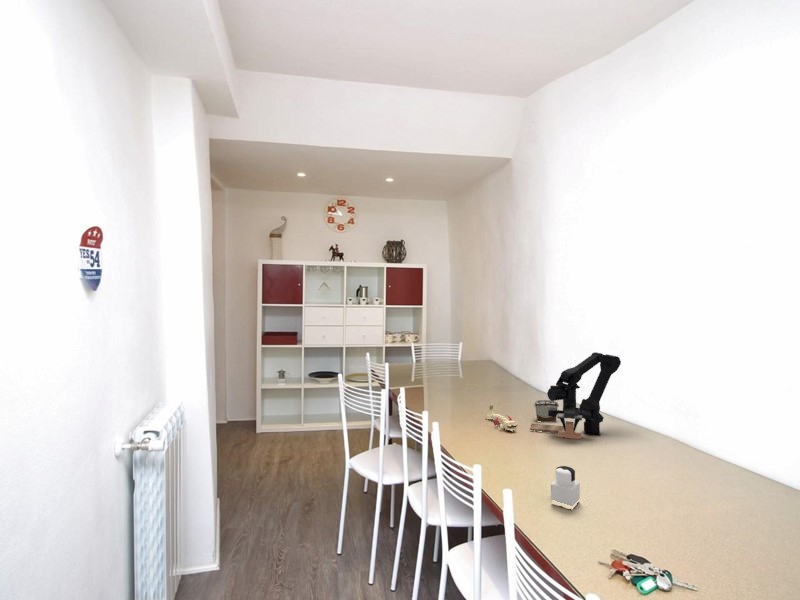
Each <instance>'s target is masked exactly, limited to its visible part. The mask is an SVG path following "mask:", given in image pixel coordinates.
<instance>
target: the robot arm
mask: <svg viewBox="0 0 800 600" xmlns="http://www.w3.org/2000/svg"><path fill="white" fill-rule="evenodd" d="M598 364H599V368H600V372H599V374H598V376H597V378H596V380H595V383H594V385H593V387H592V390H591V392H590V394H589V395H588V397H587V398H586V399H585V398H582V400H581V402H580V405H579V407H577V389H580V388H581V387H580V386H579V385H578V383H579V382H580V381H581V379H582V377H583V375H584V374H586V373H587V372H588V371H590V370H592V368H594V367H595V366H597V365H598ZM621 364H622V361H621V359H620V357H619V356H617V355H613V354H603V353H601V352H597V351H595V352H593V353H591V355H590V356H588V357H587V358H585V359H584V360H582V361H581V362H580V363H579V364H577V365H575V366H573V367H570V368H567V369H564V370H562V372H561V373H560V375H559V378H558V379H557V382H556V383H555V385H550V388H549V389H548V390H547V398H548V400H551V401H555V402H557V401H561V400H562V410H560V409H558V408H551V407H550V408H549V410H548V416H552V417H556V416H557V418H556V419H559V420H560V422H561V425H562V426H563V427H564V430H565V431H566V419H571V420H574V421H573V422H574V432H576V429H577V426H578V424H579V422H580V421H583V419H584V421H583V432H584V434H585V435H594V436H596V435H597V436H601V429H600V426H601V425H600V423H602V422H604V421H603V420H604V416H603V415H602V414H601V413H600V410H601V405H600V401H601V399H602V397H603V395H604V393H605V390H606V388H607V385H608V384H609V383H608V382H609V381H610V378H611V377H612V375H614V373H615V372H617V371H618V369H619V368H620V366H621Z"/></svg>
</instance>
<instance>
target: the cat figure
mask: <svg viewBox="0 0 800 600" xmlns="http://www.w3.org/2000/svg"><path fill="white" fill-rule="evenodd" d="M493 409H494V405H490V406H489V412H490V414H489V413H487V414H486V415H487V416H488V417H491V418H493V419H494V420H493V421H494V426H495V425H497V426H498V423H500V424H499V428H500V429H504V428H505V429H515V430H514V431H516V430H517V427H518V425H519V424H518V423H516V422H515V421H514V420H513V419H512V417H510V416H509V415H505V416H506V417H505V416H503V415H501V414H499V413H495V412H494V410H493Z"/></svg>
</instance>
